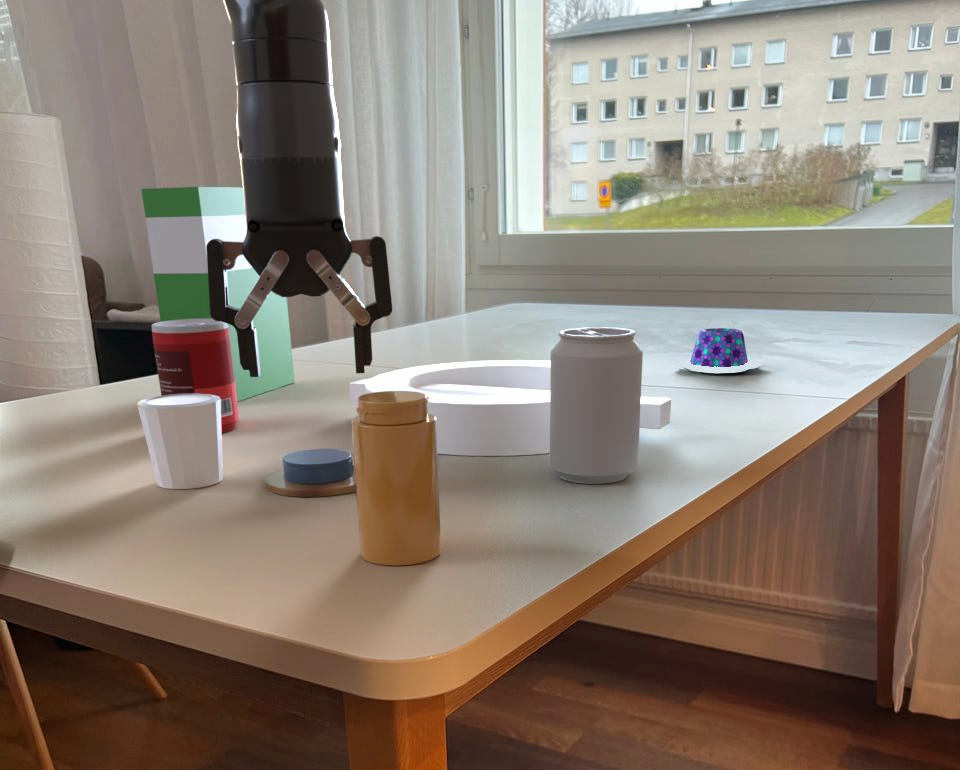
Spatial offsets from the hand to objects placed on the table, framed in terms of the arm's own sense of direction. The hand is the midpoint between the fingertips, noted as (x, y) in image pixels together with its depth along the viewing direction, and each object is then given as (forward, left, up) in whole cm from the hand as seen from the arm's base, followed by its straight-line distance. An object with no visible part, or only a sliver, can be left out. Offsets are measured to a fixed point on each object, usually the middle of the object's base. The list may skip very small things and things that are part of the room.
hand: (307, 374), depth 82 cm
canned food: (-11, +26, -9) cm, 30 cm away
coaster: (0, -1, -9) cm, 9 cm away
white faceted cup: (-11, +3, -9) cm, 15 cm away
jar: (+5, -21, -9) cm, 23 cm away
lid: (0, -1, -7) cm, 7 cm away
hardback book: (-8, +49, -9) cm, 51 cm away
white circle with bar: (+20, +18, -9) cm, 29 cm away
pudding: (+57, +46, -9) cm, 74 cm away
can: (+23, -5, -9) cm, 25 cm away
